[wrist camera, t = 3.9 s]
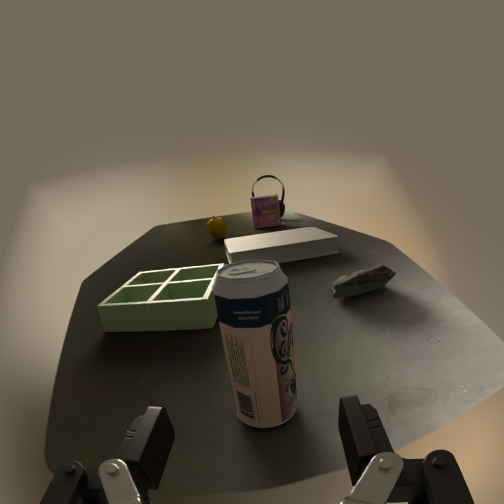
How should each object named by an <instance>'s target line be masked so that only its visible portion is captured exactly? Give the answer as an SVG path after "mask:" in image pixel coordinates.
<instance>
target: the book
mask: <svg viewBox="0 0 504 504" xmlns="http://www.w3.org/2000/svg"><path fill="white" fill-rule="evenodd" d="M337 238H339V236H337V235H334V234H331V233H329V232H326V231H323V230H320V229H318V228H315V227H306V228H299V229H292V230H285V231H278V232H271V233H264V234H257V235H251V236H244V237H237V238H231V239H224V244H225V251H226V255H227V258H228V261H229V264H231V263H235V262H239V261H244V260H256V259H264V260H272V261H276V262H277V263H278V264H279V263H285V262H291V261H297V260H303V259H309V258H315V257H321V256H326V255H332V254H338V253H340V251H338V250H337Z"/></svg>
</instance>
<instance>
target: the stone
mask: <svg viewBox="0 0 504 504" xmlns="http://www.w3.org/2000/svg"><path fill="white" fill-rule="evenodd" d="M395 274H396V273H395V272H394V271H392V270H391V269H389V268H387V267H385V266H384V265H381V264H380V265H377V266H375V267H373V268H369V269H365V270H361V271H357V272H354V273H350V274H347V275H343V276H341V277H340V278H338V279H337V280H336V281H335V282H333V283H332V284H331V287H332V288H331V291H332V294H333V295H334V298H343V297H345V296H356V295H359V294H362V293H366V292H370V291H373V290H376V289H380V288H382V287H384V286H385V285H386V284H387V283H388V282H389V281H390V280H391V279H392V277H393V276H394V275H395Z"/></svg>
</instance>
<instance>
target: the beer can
mask: <svg viewBox="0 0 504 504" xmlns="http://www.w3.org/2000/svg"><path fill="white" fill-rule="evenodd" d="M212 292H213V294H214V297H215V303H216V308H217V314H218V319H219V325H220V330H221V335H222V340H223V345H224V350H225V355H226V360H227V365H228V370H229V375H230V380H231V384H232V389H233V394H234V398H235V403H236V407H237V415H238V417H239V419H240V420H241V421H242V422H244V423H246V424H247V425H249V426H252V427H258V428H270V427H275V426H278V425H281V424H283V423H285V422H286V421H288V420H289V419H290V418H291V417H292V416H293V415H294V414H295V412H296V410H297V391H296V376H295V361H294V347H293V334H292V322H291V310H290V298H289V287H288V279H287V276H286V275H284V273H283V272H282V270H281V268H280V266H279V264H278V263H277V262H276V261H272V260H264V259H256V260H244V261H239V262H235V263H231V264H227V265H225V266H223V267H222V268H220V269H218V270H217V274H216V277H215V280H214V283H213V285H212Z"/></svg>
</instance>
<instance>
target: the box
mask: <svg viewBox="0 0 504 504" xmlns="http://www.w3.org/2000/svg"><path fill="white" fill-rule="evenodd" d="M251 207H252V214H253V222H254V229H256V228H264V227H272V226H281V218H280V209H279V201H278V196H277V194H276V195H267V196H259V197H251Z"/></svg>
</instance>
